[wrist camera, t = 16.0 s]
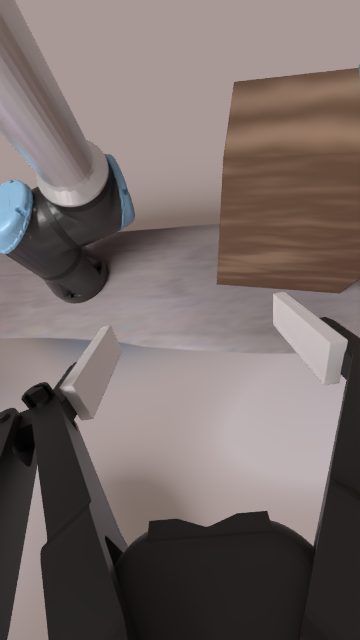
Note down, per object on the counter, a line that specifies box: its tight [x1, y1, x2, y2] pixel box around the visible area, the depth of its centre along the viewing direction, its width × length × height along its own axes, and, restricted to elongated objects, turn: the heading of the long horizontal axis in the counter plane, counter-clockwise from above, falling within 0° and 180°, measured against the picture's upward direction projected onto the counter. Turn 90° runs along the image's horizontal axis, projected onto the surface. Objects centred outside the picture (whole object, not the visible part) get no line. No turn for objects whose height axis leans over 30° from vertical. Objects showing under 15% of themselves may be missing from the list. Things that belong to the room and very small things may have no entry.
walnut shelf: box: [217, 65, 360, 293], centre depth 34 cm, size 14×26×29 cm, turn 81°
